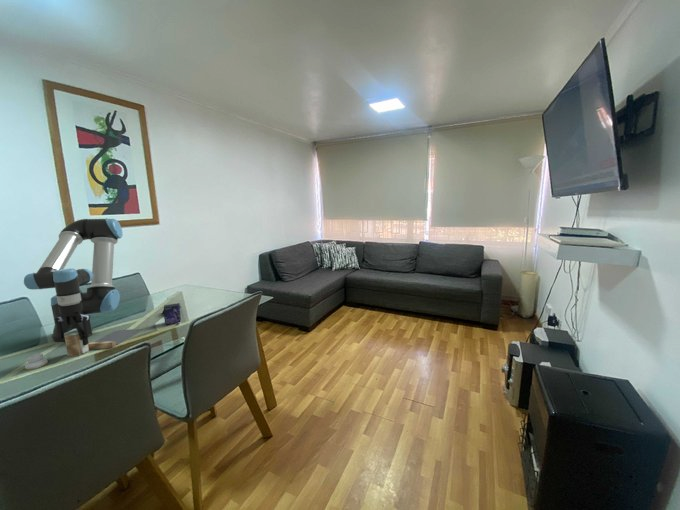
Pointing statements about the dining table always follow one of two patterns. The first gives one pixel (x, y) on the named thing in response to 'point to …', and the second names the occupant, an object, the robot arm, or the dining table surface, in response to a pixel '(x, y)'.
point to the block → (73, 343)
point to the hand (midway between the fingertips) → (78, 351)
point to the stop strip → (101, 344)
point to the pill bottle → (35, 361)
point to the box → (172, 313)
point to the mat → (119, 336)
